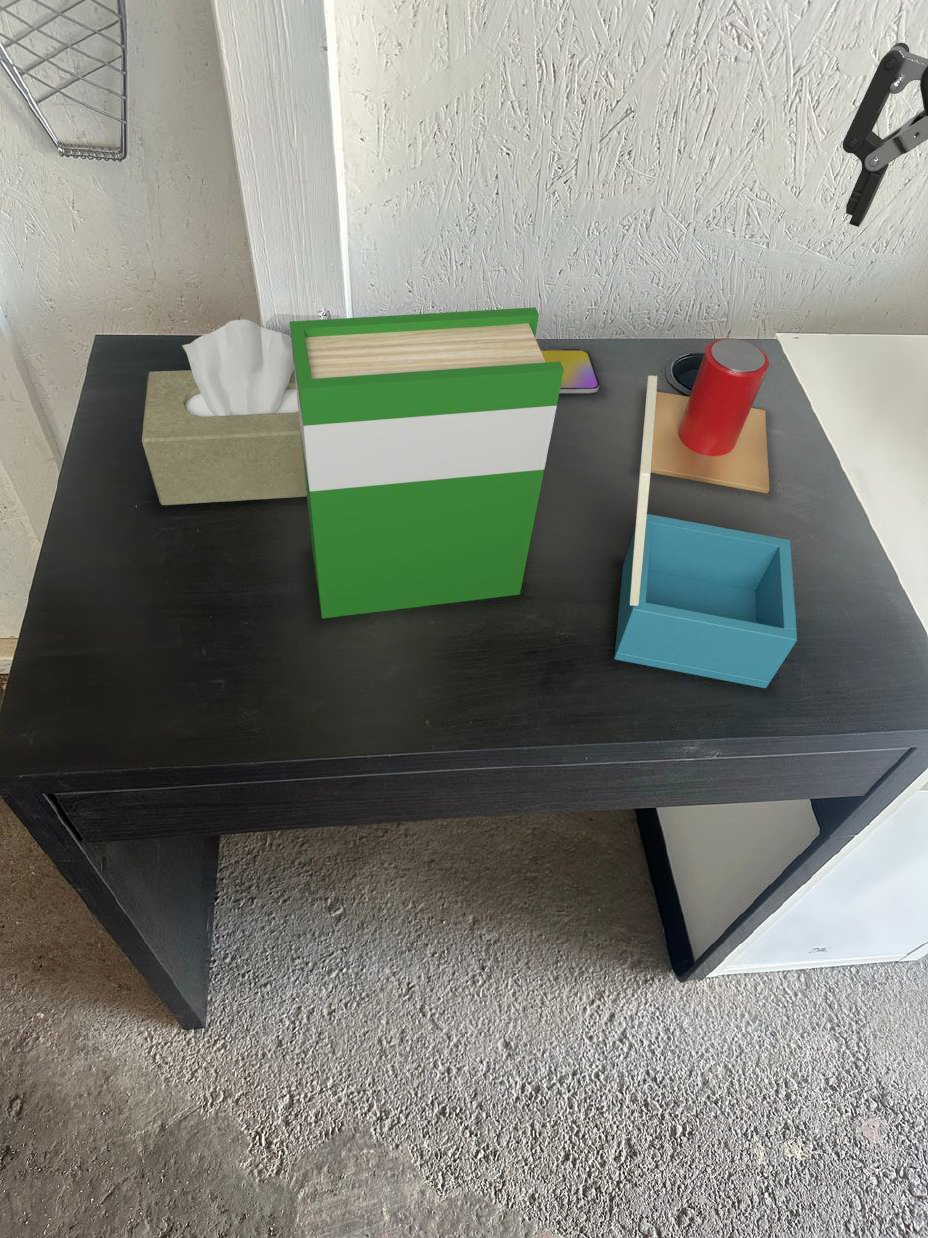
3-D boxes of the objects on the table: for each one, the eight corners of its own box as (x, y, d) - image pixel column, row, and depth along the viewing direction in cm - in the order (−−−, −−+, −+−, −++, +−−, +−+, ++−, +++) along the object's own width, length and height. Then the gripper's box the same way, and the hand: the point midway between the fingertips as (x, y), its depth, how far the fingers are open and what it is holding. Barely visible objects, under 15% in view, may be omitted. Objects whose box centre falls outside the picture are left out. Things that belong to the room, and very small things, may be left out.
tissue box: (350, 428, 89) (345, 289, 76) (359, 494, 83) (354, 355, 70) (162, 437, 86) (124, 294, 73) (157, 507, 80) (115, 364, 67)
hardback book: (500, 534, 81) (535, 307, 62) (519, 594, 77) (563, 369, 58) (312, 554, 78) (289, 321, 59) (322, 618, 73) (299, 388, 54)
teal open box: (762, 591, 79) (790, 539, 74) (766, 688, 72) (797, 640, 67) (622, 565, 80) (640, 512, 74) (614, 659, 73) (632, 609, 67)
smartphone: (601, 389, 95) (467, 389, 93) (600, 394, 95) (466, 395, 93) (588, 349, 99) (459, 349, 97) (587, 354, 100) (459, 354, 98)
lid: (657, 375, 63) (648, 374, 64) (650, 474, 57) (639, 473, 57) (645, 509, 74) (637, 508, 74) (638, 606, 67) (629, 605, 67)
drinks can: (735, 423, 93) (768, 341, 85) (736, 460, 89) (771, 379, 81) (678, 413, 93) (706, 331, 85) (676, 450, 89) (706, 367, 81)
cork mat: (763, 414, 95) (765, 409, 95) (767, 493, 87) (769, 489, 87) (647, 393, 96) (649, 389, 95) (641, 471, 88) (642, 466, 87)
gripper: (916, -58, 47) (802, 230, 60) (1198, 10, 43) (1011, 301, 56) (945, -85, 51) (832, 189, 64) (1204, -26, 47) (1029, 253, 60)
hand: (916, 241), depth 60 cm, fingers open, 8 cm apart
